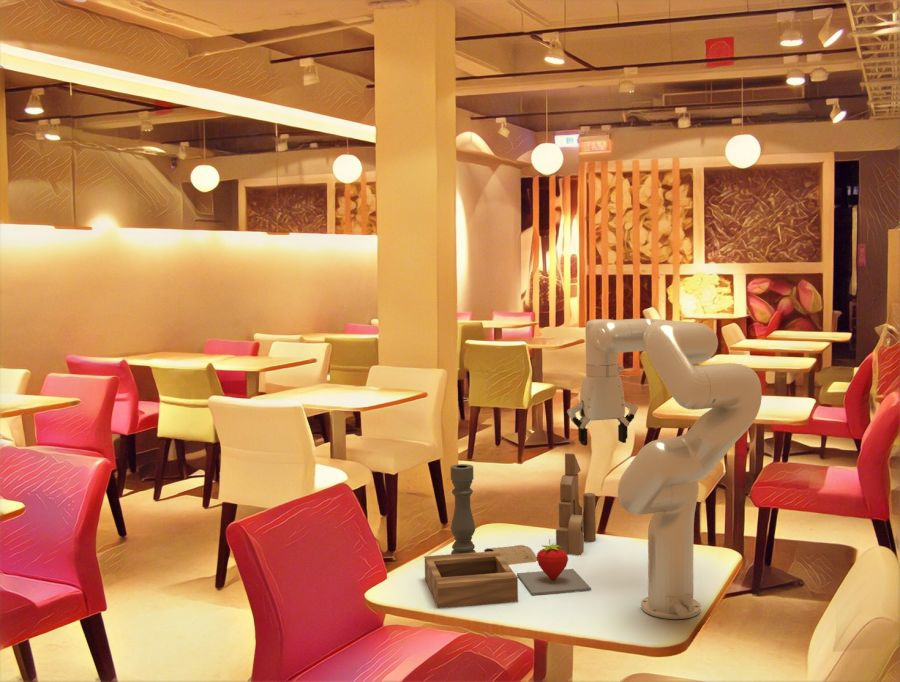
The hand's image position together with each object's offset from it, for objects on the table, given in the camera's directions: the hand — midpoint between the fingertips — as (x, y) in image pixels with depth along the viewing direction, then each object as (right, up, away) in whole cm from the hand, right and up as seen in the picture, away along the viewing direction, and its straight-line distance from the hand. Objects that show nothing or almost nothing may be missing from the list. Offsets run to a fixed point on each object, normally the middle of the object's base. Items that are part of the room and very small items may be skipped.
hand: (603, 443), depth 228 cm
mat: (-12, -33, -2) cm, 35 cm away
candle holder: (-33, -32, +13) cm, 48 cm away
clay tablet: (-21, -32, +19) cm, 43 cm away
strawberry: (-12, -32, -2) cm, 34 cm away
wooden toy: (-3, -30, +26) cm, 40 cm away
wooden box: (-32, -33, -5) cm, 46 cm away
